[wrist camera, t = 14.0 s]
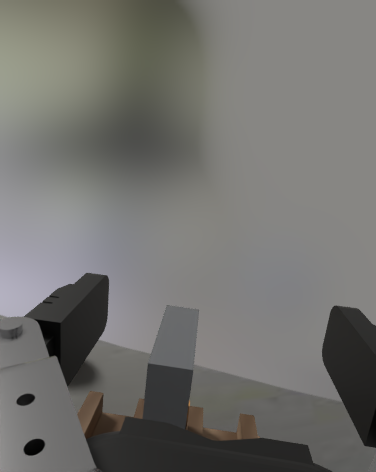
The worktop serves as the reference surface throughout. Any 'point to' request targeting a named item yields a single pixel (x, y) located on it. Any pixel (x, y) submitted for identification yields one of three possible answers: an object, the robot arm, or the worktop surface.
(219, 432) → the rack
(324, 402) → the worktop surface
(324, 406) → the worktop surface
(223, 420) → the worktop surface
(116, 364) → the worktop surface
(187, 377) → the panel
